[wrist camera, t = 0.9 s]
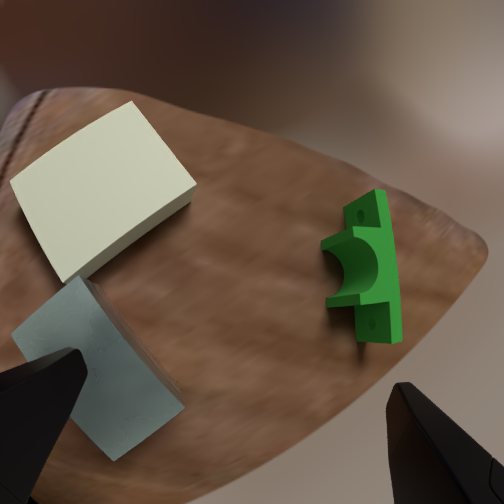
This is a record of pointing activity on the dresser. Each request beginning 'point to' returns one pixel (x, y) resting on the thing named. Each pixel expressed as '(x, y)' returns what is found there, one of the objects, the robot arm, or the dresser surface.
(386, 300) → the pipe clamp
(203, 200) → the dresser surface
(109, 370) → the grey-blue rectangular block
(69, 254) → the sage stand
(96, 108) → the dresser surface
